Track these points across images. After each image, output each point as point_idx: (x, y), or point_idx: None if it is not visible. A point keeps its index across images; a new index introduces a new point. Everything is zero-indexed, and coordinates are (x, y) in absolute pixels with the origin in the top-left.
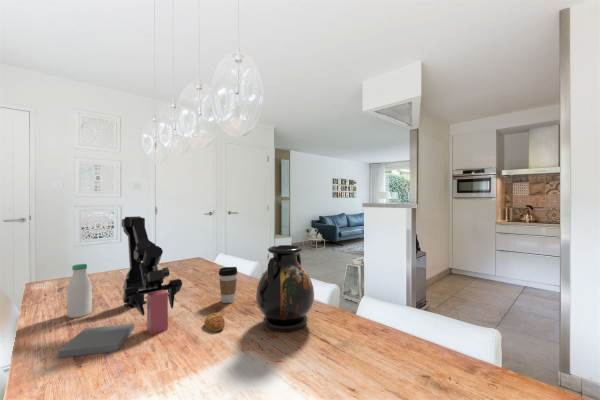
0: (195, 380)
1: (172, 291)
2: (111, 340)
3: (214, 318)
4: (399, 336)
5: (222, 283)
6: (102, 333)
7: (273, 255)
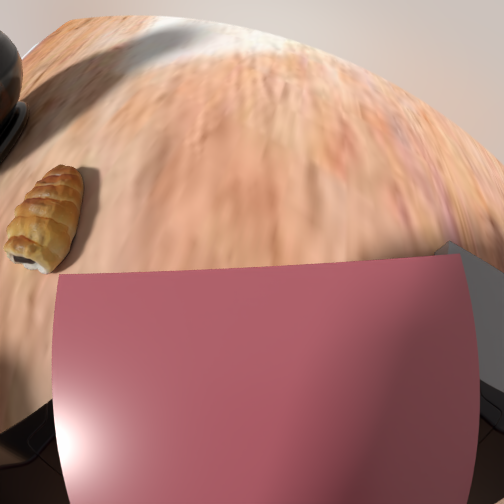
0: (248, 43)
1: (7, 455)
2: (472, 295)
3: (37, 199)
4: None
5: None
6: None
7: None
